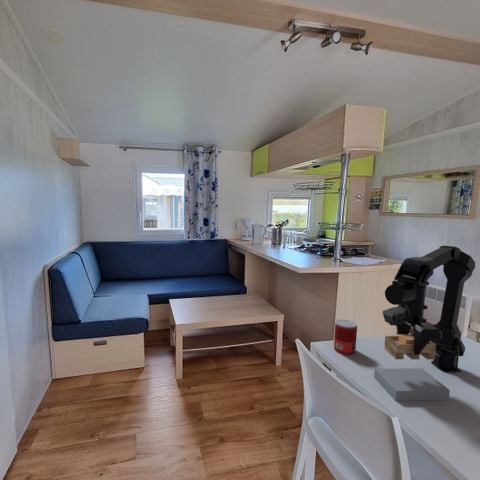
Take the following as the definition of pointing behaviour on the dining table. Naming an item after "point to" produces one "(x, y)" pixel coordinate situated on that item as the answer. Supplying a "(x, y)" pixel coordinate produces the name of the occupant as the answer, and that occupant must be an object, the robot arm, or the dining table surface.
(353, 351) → the canned food
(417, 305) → the robot arm
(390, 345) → the shallow cardboard tray
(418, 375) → the dock
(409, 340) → the block
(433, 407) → the dining table surface
